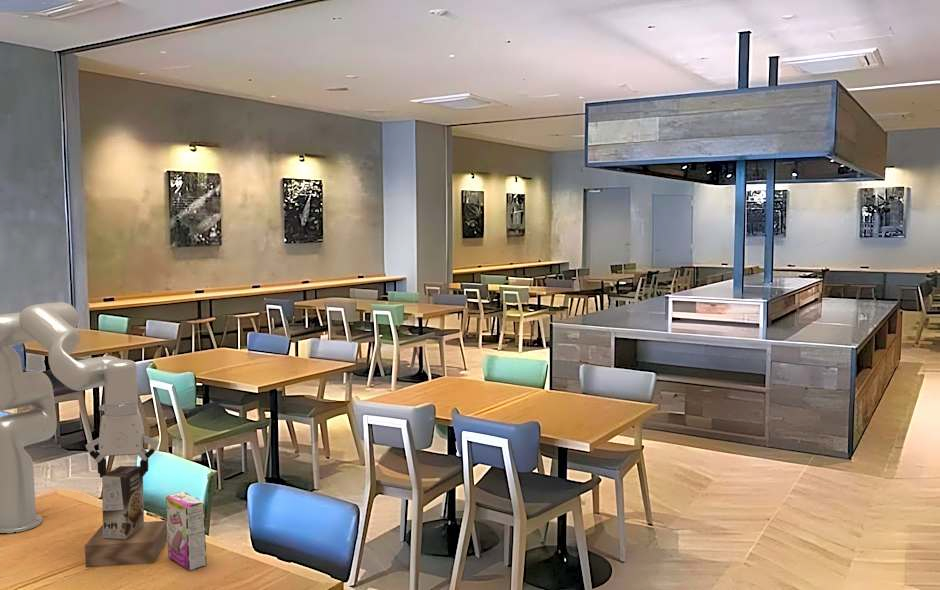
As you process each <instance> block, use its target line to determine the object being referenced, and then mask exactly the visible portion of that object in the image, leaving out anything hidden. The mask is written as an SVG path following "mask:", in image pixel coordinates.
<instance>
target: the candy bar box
mask: <svg viewBox="0 0 940 590" xmlns="http://www.w3.org/2000/svg"><path fill="white" fill-rule="evenodd" d="M165 507H166V509H165V510H166V521H167V546H168V547H167V549H168V550H167V551H168V559H170V560H171V561H173V562H174V563H176V564H178V566H179V565H180V566H181V567H183V568H184V569H185V570H187V571H189V572H190V571H194V570H196V569H201V568H202V566H203V567H205V566H207V546H206V545H207V544H206V543H207V541H206V538H207V537H206V518H205V517H206V516H205V501H202V500H201V499H199V498H197V497H194V496H193V495H191V494H189V493H187V492H185V491H179V492H177V493H176V492H175V493H171V494H168V495H165Z"/></svg>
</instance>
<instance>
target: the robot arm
mask: <svg viewBox="0 0 940 590" xmlns="http://www.w3.org/2000/svg"><path fill="white" fill-rule="evenodd" d="M79 318H80V316H79V313H78V311H77V309H76V308H75V307H74V306H73V305H72V304H70V303H68V302H65V301H59V302H58V301H57V302H47V303H45V302H44V303H37V304H31V305H29V306H27V307H25V308H24V309H23V310H21V312H13V313H12V312H10V313H2V314H0V411H8V410H15V409H19V408H24V407H28V408H29V410H24V411H19V412H14V413H10V414H6V415H3V416H0V533H7V534H15V533H14V532H16V533H20V532H24V531H28V530H31V529H33V528H36V527H38V526H39V525H41V524H42V523H43V516H42V515H41V514H38V513H37V511H36V509H37V508H36V491H35V474H34V473H35V472H34V461H33V458H32V457H31V455H30V454H29V453H28V452H27V451H26V450H25V447H26V446H29V445H32V444H34V445H35V444H38V443H40V442H44V441H47V440H50V439H51V438H52V437H54V435H55V434H56V431H57V426H58V423H57V412H56V404H55V394H54V388H53V384H52V381H51V379H50V377H49V376H48V375H47V374H46V373H44V372H43V371H39V370H30V371H26V372H25V371H24V370H23V366H22V365H23V363H22V358H21V356H20V354H19V353H18V352H17V351H16V349H15V348H14V347H13V346H12V345H16V344H25V343H32V342H37V343H38V344H39V345H40V346H41V347H43V348H44V350H46V351H47V352H48V358H47V359H48V365H49V368H50V371H51V373H52V375H53V376H54V377H55V378H56V379H57V380H58V381H59V382H60V383H61V384H63V385H64V386H66V387H67V388H69V389H70V390H72V391H78V392H79V391H86V390H90V389H94V388H100V387H104V404H100V405H99V406H98V411H103V412H104V414H103V415H102V416H101V418H100V423H99V425H100V426H99V437H97V438H96V439H94V440H92V441H89V442H87V444H85V448H86V450H87V451H88V453H89V455H90V457H92V458H93V460H95V462H96V463H97V474H99V478H101V479H102V476H103V475H105V474H107V473H108V472H107V459H106V458H105V457H108V456H109V457H112V456H116V457H117V456H134V455H136V456H138V457H139V458H140V461H139V462H140V463H139V466H140V475H141V476H143V477H144V476H145V475H146V474H147V472H148V471H149V458H150V457H151V456H152V455H154V453H156V450H157V448H158V446H159V445H160V441H158V440H157V439H154V438H152V437H150V436H147V435H145V429H144V428H145V427H144V421H143V418H142V414H141V412H139V404H138V403H139V401H138V368H137V364H136V362H135V361H134V360H131V359H121V358H119V357H117V356H114V355H103V356H99V357H98V356H97V357H91V358H86V359H85V358H84V359H78V360H76V359H74V358H73V357H72V356H71V354H72V353H73V352H74V351H75V350H76V349H77V348H78V346H79V344H80V342H81V334H80V332H79V330H78V329H76V328H77V327H78V324H79V320H80V319H79ZM23 371H24V372H23ZM146 444H148V445H149V446H150V449H149V450H148V451H147V450H146V449H145V447H146ZM97 445H98V450H97V449H95V446H97Z"/></svg>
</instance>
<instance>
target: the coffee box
mask: <svg viewBox="0 0 940 590" xmlns="http://www.w3.org/2000/svg"><path fill="white" fill-rule="evenodd" d="M101 480H102V481H101V482H102V483H101V484H102V487H101V490H102V495H101V496H102V497H101V499H102V525H103V538H111V539H127V538H128V537H130V536H131V535H132V534H134V533H135V532H137V531H138V530H139V529H141V528H142V527H143V526H144V522H145V519H144V517H145V515H144V514H145V513H144V476H141V475H140V465H139V466H138V465H120V466H118V467H116V468H114V469H113V470H110V471H109V472H107V474H105V475H103V476H102V478H101Z"/></svg>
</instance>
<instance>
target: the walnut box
mask: <svg viewBox="0 0 940 590" xmlns="http://www.w3.org/2000/svg"><path fill="white" fill-rule="evenodd" d="M167 543H168V532H167V520H156V521H155V520H154V521H153V520H151V521H144V526H143V527H142V528H141V529H139V530H138V531H137V532H135V533H134V534H132V535H131V536H130V537H128V538H127V539H111V538H103V524H101V526H100V527H99V528H98V529H97V531H96V532H95V533H94V534H93V535H92V536H91V537H90V539H89V540H88V541H87V542H86V543H85V545H84V554H85V555H84V557H85V568H99V567H114V566H129V565H130V566H131V565H144V564H145V565H147V564H154V563H156V561H157V559H158V558H157V557H159V555H160V554H161V552H162V551H163V549H164V547H165V545H167Z"/></svg>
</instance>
